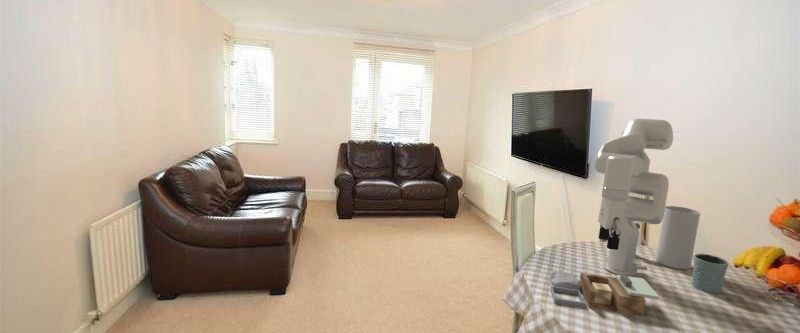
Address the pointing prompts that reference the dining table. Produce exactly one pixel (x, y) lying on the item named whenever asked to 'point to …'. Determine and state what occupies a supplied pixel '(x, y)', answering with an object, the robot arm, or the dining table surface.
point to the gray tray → (567, 302)
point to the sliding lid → (637, 286)
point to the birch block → (602, 293)
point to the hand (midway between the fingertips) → (607, 244)
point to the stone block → (565, 280)
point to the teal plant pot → (709, 272)
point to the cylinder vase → (677, 237)
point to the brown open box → (618, 299)
